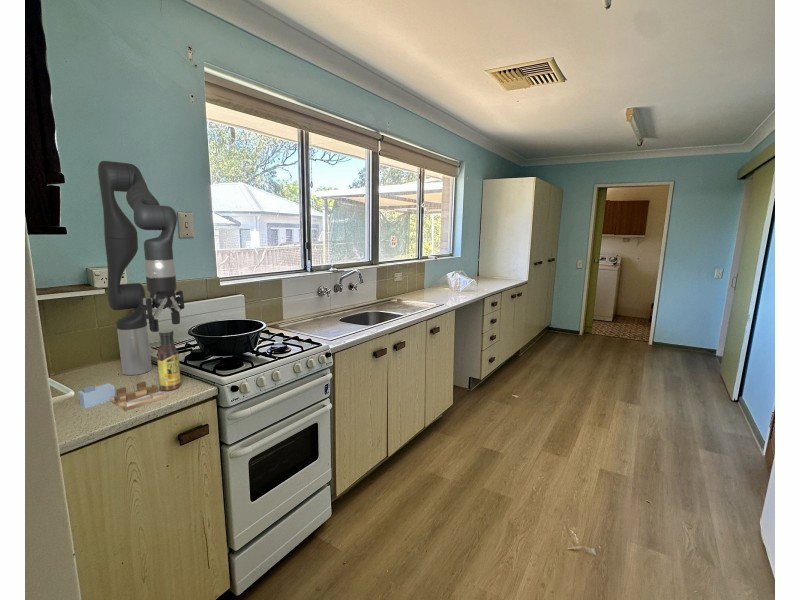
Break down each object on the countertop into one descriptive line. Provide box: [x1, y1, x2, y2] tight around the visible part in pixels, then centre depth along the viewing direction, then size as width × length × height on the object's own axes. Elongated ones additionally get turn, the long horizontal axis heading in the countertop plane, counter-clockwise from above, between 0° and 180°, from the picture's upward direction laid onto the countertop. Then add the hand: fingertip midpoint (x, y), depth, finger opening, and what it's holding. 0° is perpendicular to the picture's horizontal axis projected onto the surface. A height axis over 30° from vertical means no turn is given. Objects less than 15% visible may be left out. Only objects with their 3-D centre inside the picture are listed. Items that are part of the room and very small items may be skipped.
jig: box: [109, 381, 167, 412], centre depth 123 cm, size 11×12×4 cm
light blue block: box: [77, 382, 116, 409], centre depth 120 cm, size 4×8×6 cm, turn 145°
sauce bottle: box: [156, 329, 181, 392], centre depth 130 cm, size 6×6×20 cm
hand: (165, 327), depth 118 cm, fingers open, 8 cm apart
